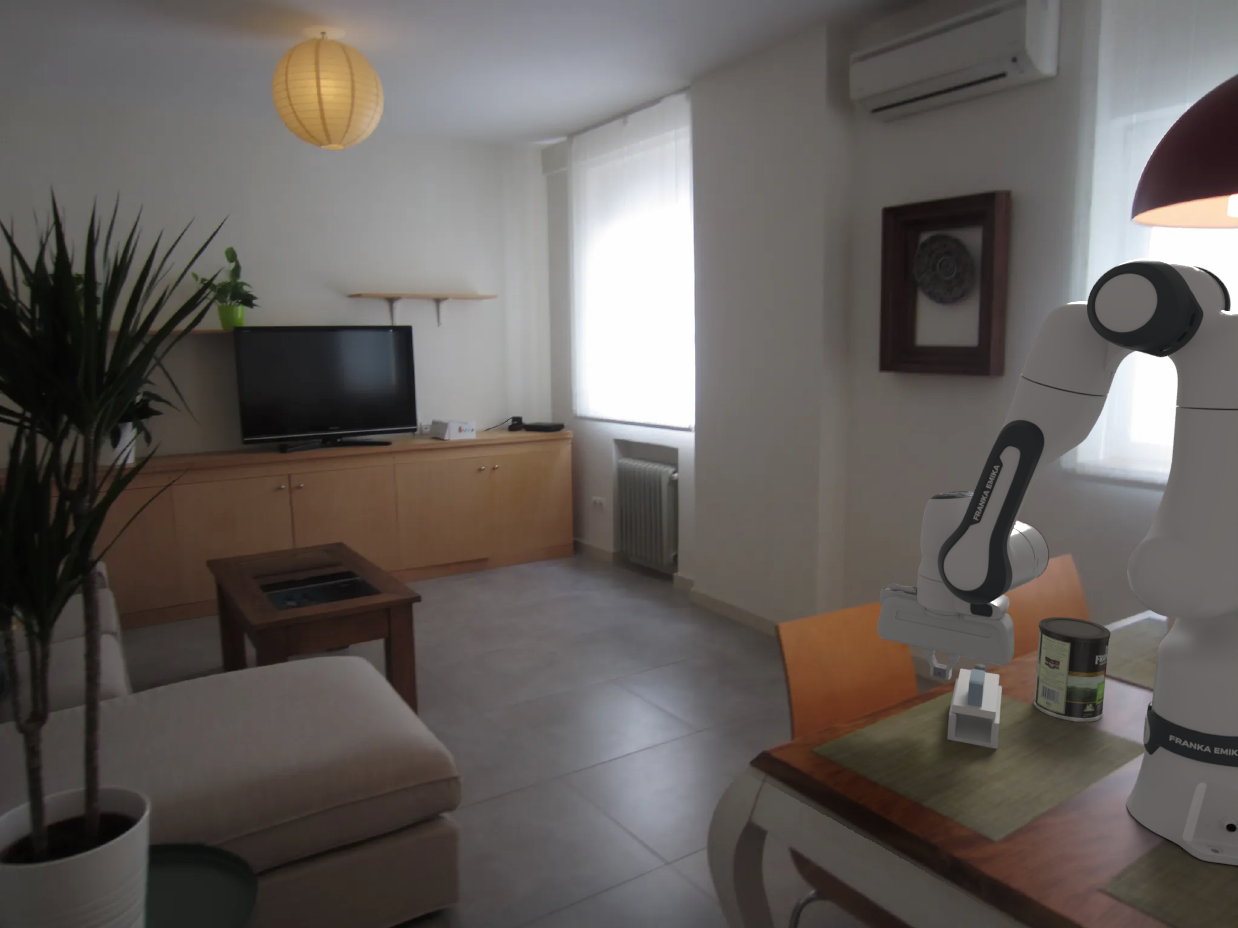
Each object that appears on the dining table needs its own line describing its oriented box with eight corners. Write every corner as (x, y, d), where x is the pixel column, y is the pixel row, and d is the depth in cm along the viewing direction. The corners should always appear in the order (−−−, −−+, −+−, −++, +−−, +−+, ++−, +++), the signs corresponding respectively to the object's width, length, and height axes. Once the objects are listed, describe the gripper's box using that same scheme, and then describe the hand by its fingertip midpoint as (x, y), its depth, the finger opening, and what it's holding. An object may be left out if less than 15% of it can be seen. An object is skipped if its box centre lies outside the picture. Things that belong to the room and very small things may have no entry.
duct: (1000, 708, 141) (1001, 685, 140) (997, 748, 127) (999, 723, 127) (954, 700, 144) (956, 678, 143) (947, 739, 130) (948, 714, 130)
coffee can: (1107, 705, 142) (1114, 624, 140) (1097, 728, 134) (1105, 643, 131) (1039, 690, 148) (1046, 612, 146) (1026, 711, 140) (1032, 629, 138)
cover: (997, 700, 143) (1001, 651, 141) (993, 744, 128) (997, 689, 126) (959, 694, 145) (962, 645, 144) (950, 736, 130) (954, 682, 129)
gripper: (874, 585, 136) (869, 667, 138) (1011, 611, 124) (1004, 700, 127) (887, 576, 141) (882, 655, 143) (1020, 600, 129) (1013, 685, 132)
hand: (940, 676), depth 135 cm, fingers closed
